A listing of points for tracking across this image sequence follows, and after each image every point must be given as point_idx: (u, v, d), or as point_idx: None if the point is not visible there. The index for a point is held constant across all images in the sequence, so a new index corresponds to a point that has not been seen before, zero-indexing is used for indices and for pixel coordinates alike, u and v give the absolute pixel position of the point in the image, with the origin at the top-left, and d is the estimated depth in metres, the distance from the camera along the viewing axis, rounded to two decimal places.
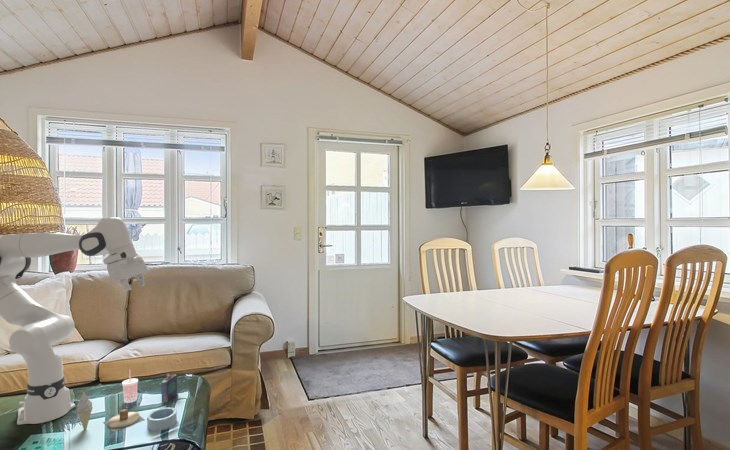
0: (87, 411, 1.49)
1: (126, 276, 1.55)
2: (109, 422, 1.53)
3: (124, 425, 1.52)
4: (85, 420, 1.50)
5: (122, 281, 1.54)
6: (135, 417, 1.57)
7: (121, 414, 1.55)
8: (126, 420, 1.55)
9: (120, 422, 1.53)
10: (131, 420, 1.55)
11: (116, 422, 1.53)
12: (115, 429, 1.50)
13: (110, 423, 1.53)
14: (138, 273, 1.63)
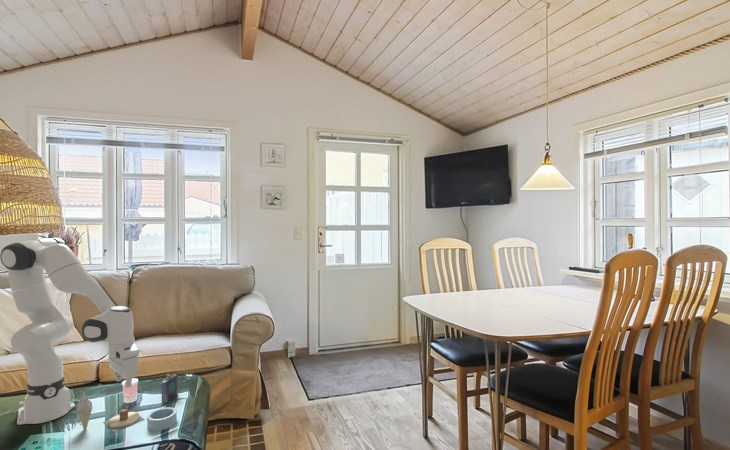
0: (87, 411, 1.49)
1: None
2: (109, 422, 1.53)
3: (124, 425, 1.52)
4: (85, 420, 1.50)
5: None
6: (135, 417, 1.57)
7: (121, 414, 1.55)
8: (126, 420, 1.55)
9: (120, 422, 1.53)
10: (131, 420, 1.55)
11: (116, 422, 1.53)
12: (115, 429, 1.50)
13: (110, 423, 1.53)
14: None
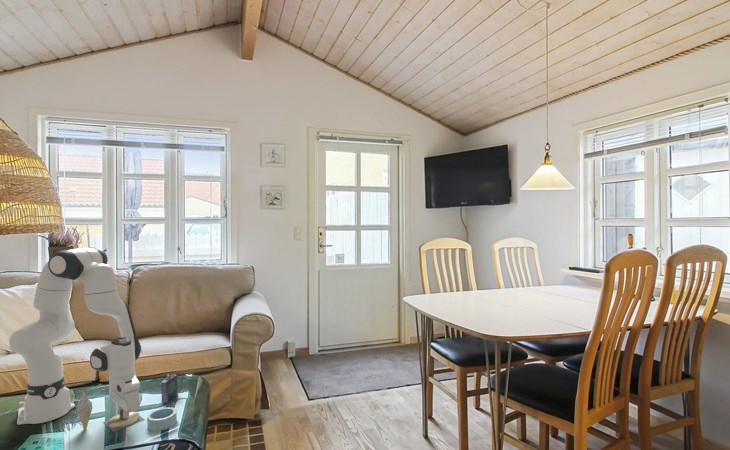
0: (87, 411, 1.49)
1: None
2: (109, 422, 1.53)
3: (124, 425, 1.52)
4: (85, 420, 1.50)
5: None
6: (135, 417, 1.57)
7: (121, 414, 1.55)
8: (126, 420, 1.55)
9: (120, 422, 1.53)
10: (131, 420, 1.55)
11: (116, 422, 1.53)
12: (115, 429, 1.50)
13: (110, 423, 1.53)
14: None
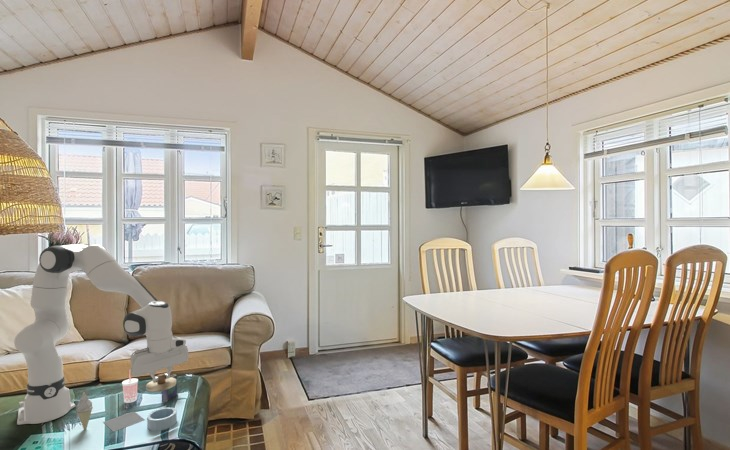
0: (87, 411, 1.49)
1: None
2: (164, 387, 1.50)
3: None
4: (85, 420, 1.50)
5: None
6: None
7: (164, 377, 1.53)
8: (168, 380, 1.55)
9: (170, 382, 1.54)
10: (170, 378, 1.57)
11: (167, 384, 1.52)
12: (115, 429, 1.50)
13: (167, 386, 1.51)
14: None
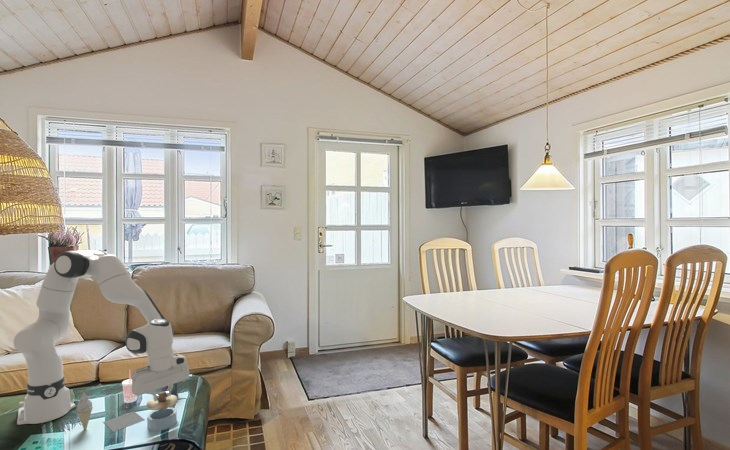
0: (87, 411, 1.49)
1: None
2: (165, 405, 1.50)
3: None
4: (85, 420, 1.50)
5: None
6: None
7: (165, 395, 1.54)
8: (168, 398, 1.56)
9: (170, 400, 1.54)
10: (171, 396, 1.58)
11: (168, 402, 1.53)
12: (115, 429, 1.50)
13: (168, 404, 1.51)
14: None
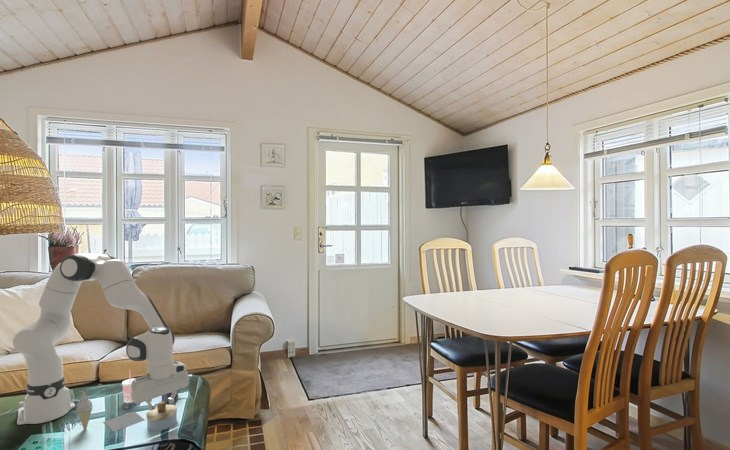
0: (87, 411, 1.49)
1: None
2: (164, 415, 1.50)
3: None
4: (85, 420, 1.50)
5: None
6: (165, 405, 1.58)
7: (165, 405, 1.54)
8: (168, 408, 1.56)
9: (170, 410, 1.54)
10: (170, 406, 1.58)
11: (168, 412, 1.53)
12: (115, 429, 1.50)
13: (167, 414, 1.51)
14: None
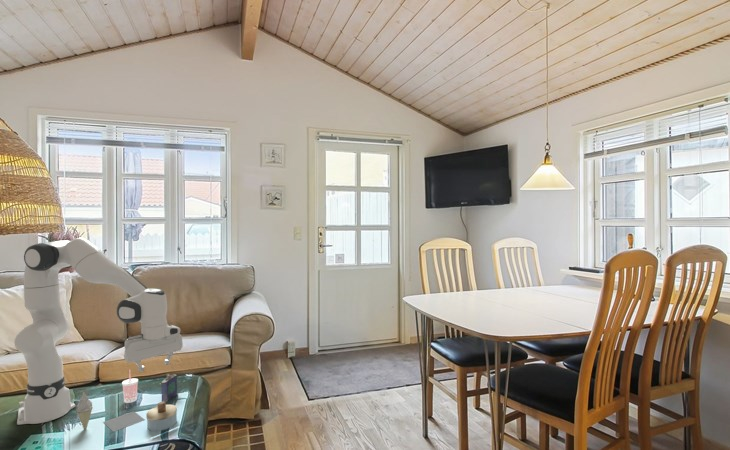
0: (87, 411, 1.49)
1: None
2: (164, 415, 1.50)
3: None
4: (85, 420, 1.50)
5: None
6: (165, 405, 1.58)
7: (165, 405, 1.54)
8: (168, 408, 1.56)
9: (170, 410, 1.54)
10: (170, 406, 1.58)
11: (168, 412, 1.53)
12: (115, 429, 1.50)
13: (167, 414, 1.51)
14: None
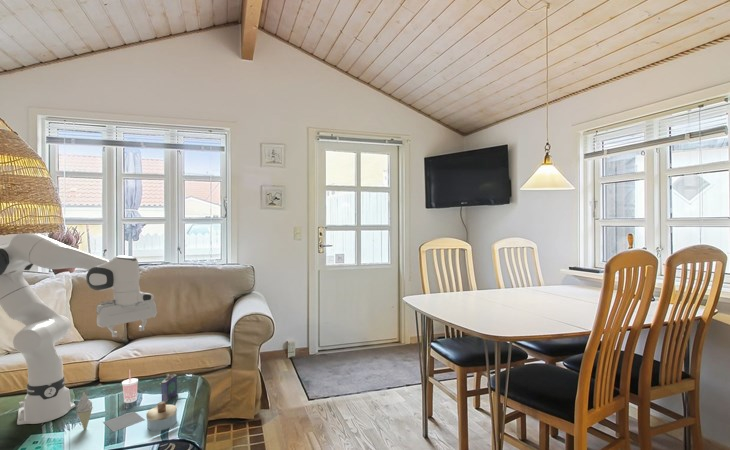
0: (87, 411, 1.49)
1: None
2: (164, 415, 1.50)
3: None
4: (85, 420, 1.50)
5: None
6: (165, 405, 1.58)
7: (165, 405, 1.54)
8: (168, 408, 1.56)
9: (170, 410, 1.54)
10: (170, 406, 1.58)
11: (168, 412, 1.53)
12: (115, 429, 1.50)
13: (167, 414, 1.51)
14: None
